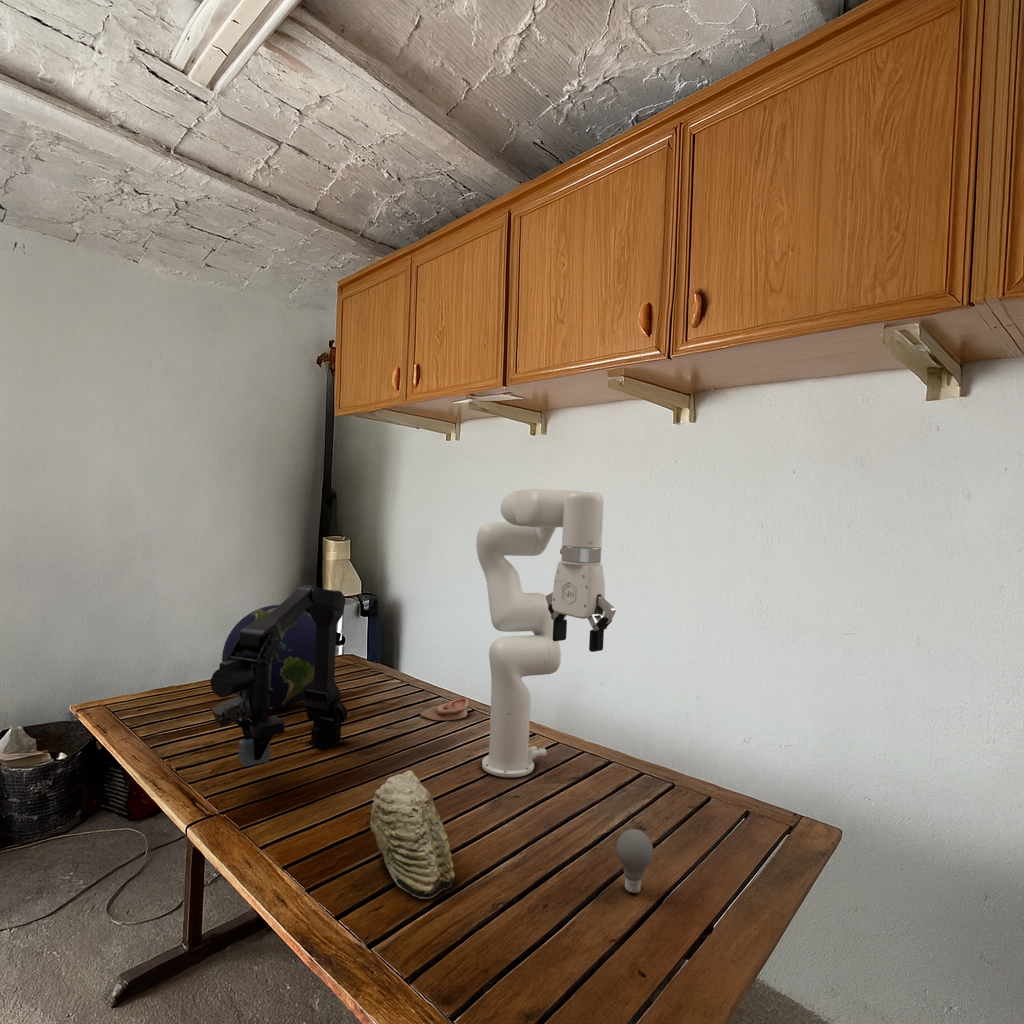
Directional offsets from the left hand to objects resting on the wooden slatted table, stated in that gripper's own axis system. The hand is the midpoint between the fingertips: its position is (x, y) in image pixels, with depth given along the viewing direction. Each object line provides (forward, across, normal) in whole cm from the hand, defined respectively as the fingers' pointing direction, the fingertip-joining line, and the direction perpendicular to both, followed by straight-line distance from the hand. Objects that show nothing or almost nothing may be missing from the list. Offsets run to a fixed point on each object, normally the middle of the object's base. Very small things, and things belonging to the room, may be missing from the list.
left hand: (254, 756), depth 137 cm
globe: (+7, -48, +23) cm, 54 cm away
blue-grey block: (+1, 0, 0) cm, 1 cm away
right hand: (-30, +55, +41) cm, 75 cm away
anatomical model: (+7, -14, +60) cm, 62 cm away
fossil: (+7, +46, +11) cm, 48 cm away
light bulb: (+7, +74, +37) cm, 83 cm away
